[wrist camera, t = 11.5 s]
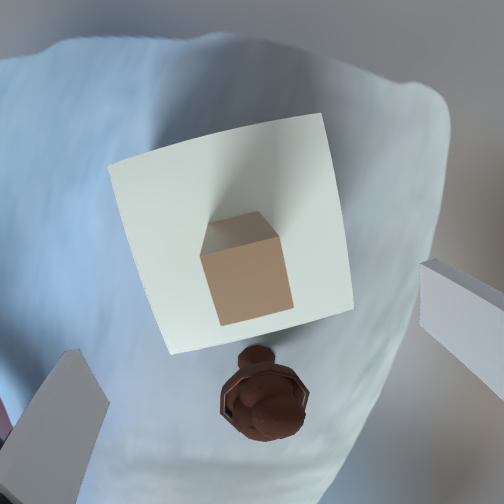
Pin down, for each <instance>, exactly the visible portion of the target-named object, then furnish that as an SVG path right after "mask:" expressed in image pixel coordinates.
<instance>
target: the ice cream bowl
mask: <svg viewBox="0 0 504 504" xmlns="http://www.w3.org/2000/svg"><path fill="white" fill-rule="evenodd" d="M274 360H275V355H274V354H273V353H272V351H271V350H270V349H269V348H266V347H263V346H260V345H256V346H252V347H248V348H246V349H245V350H244V351H243V352H242V353H241V354H240V355H239V356H238V366H239V368H240V369H239V370H238V371H237V372H236V373H235V374H234V375H233V376H232V377H231V378H230V379H229V380H228V381H227V382H226V383H225V384H224V386H223V387H222V391H221V399H220V414H221V415H222V416H223V417H224V418H225V419H226V420H227V421H228V422H229V423H231V424H232V425H233V426H234V427H235V428H236V429H237V430H238V431H239V432H241V433H243V434H244V435H245V436H246V437H247V438H249V439H252V440H257V441H263V442H267V441H272V440H276V439H283V438H286V437H289V436H291V435H294V434H295V433H296V432H297V431H299V429H300V428H301V426H302V425H303V423H304V419H305V416H306V413H305V408H306V405H307V401H308V397H309V393H310V392H309V391H308V389H307V388H306V387H305V385H304V384H303V383H302V381H301V380H300V379H299V377H298V376H297V375H296V373H295V372H294V371H293V369H291V368H289V367H286V366H283V365H279V364H275V363H274Z"/></svg>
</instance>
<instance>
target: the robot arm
mask: <svg viewBox="0 0 504 504" xmlns="http://www.w3.org/2000/svg"><path fill="white" fill-rule="evenodd" d="M420 326H421V327H423V328H424V329H425V330H426V331H427V332H428V333H429V334H431V335H432V336H433V337H434V338H435V339H436V340H438V341H439V342H440V343H441V344H442V345H443V346H444V347H445V348H447V349H448V350H449V351H450V352H451V353H452V354H453V355H455V356H456V357H457V358H458V359H459V360H460V361H461V362H462V363H463V364H465V365H466V366H467V367H468V368H469V369H470V370H471V371H472V372H473V373H474V374H475V375H477V376H478V377H479V378H480V379H481V380H482V381H483V382H484V383H485V384H486V385H487V386H488V387H489V388H490V389H492V390H493V391H494V392H495V393H496V394H497V395H498V396H499V397H500V398H501V399H502V400H503V401H504V293H501V292H499V291H498V290H496V289H494V288H492V287H491V286H489V285H487V284H485V283H483V282H481V281H479V280H477V279H475V278H473V277H471V276H470V275H468V274H466V273H464V272H462V271H460V270H458V269H455V268H454V267H452V266H450V265H448V264H446V263H444V262H442V261H440V260H438V259H435V258H434V259H431V260H428V261H425V262H422V263H420ZM109 404H110V402H109V401H108V399H107V397H106V396H105V394H104V393H103V391H102V389H101V387H100V386H99V384H98V382H97V381H96V379H95V377H94V375H93V374H92V372H91V370H90V368H89V366H88V364H87V363H86V361H85V359H84V357H83V355H82V353H81V351H80V349H77V350H71V351H65V352H64V353H63V354H62V356H61V357H60V359H59V360H58V361H57V363H56V364H55V366H54V367H53V369H52V370H51V371H50V373H49V374H48V376H47V377H46V379H45V380H44V382H43V383H42V384H41V386H40V387H39V389H38V390H37V392H36V393H35V395H34V396H33V398H32V400H31V401H30V403H29V404H28V406H27V407H26V409H25V410H24V412H23V414H22V415H21V417H20V418H19V420H18V422H17V423H16V425H15V426H14V428H13V429H12V430H11V431H10V433H9V434H8V436H7V438H6V439H5V441H4V440H3V439H2V438H1V437H0V504H76V501H77V497H78V494H79V491H80V487H81V484H82V481H83V478H84V475H85V472H86V469H87V466H88V463H89V460H90V457H91V454H92V451H93V448H94V445H95V442H96V439H97V437H98V434H99V431H100V428H101V426H102V423H103V420H104V418H105V415H106V412H107V410H108V407H109Z"/></svg>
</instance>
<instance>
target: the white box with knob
mask: <svg viewBox="0 0 504 504" xmlns="http://www.w3.org/2000/svg"><path fill="white" fill-rule="evenodd" d="M108 170H109V174H110V178H111V182H112V186H113V190H114V193H115V197H116V201H117V204H118V208H119V212H120V215H121V219H122V222H123V225H124V229H125V232H126V235H127V239H128V242H129V245H130V248H131V251H132V254H133V257H134V260H135V263H136V266H137V269H138V272H139V275H140V278H141V281H142V284H143V286H144V289H145V292H146V295H147V297H148V300H149V303H150V305H151V308H152V311H153V313H154V316H155V318H156V321H157V323H158V326H159V328H160V331H161V333H162V336H163V338H164V341H165V343H166V345H167V348H168V350H169V353H170V355H172V354H177V353H182V352H187V351H192V350H197V349H202V348H207V347H212V346H216V345H221V344H225V343H230V342H234V341H238V340H242V339H247V338H251V337H255V336H259V335H263V334H267V333H271V332H275V331H279V330H282V329H286V328H290V327H294V326H297V325H301V324H304V323H308V322H311V321H315V320H318V319H322V318H325V317H329V316H332V315H335V314H339V313H342V312H345V311H348V310H352V309H354V302H353V293H352V284H351V275H350V267H349V259H348V252H347V244H346V237H345V231H344V224H343V218H342V212H341V206H340V200H339V195H338V189H337V184H336V178H335V173H334V168H333V163H332V158H331V154H330V149H329V144H328V140H327V135H326V131H325V127H324V122H323V118H322V114H321V113H315V114H308V115H302V116H296V117H290V118H284V119H279V120H273V121H268V122H263V123H258V124H253V125H248V126H243V127H239V128H234V129H230V130H226V131H222V132H217V133H213V134H209V135H205V136H202V137H198V138H194V139H190V140H187V141H183V142H179V143H176V144H172V145H169V146H166V147H162V148H159V149H156V150H152V151H149V152H146V153H143V154H140V155H137V156H134V157H131V158H128V159H125V160H122V161H119V162H116V163H114V164H111V165H108Z"/></svg>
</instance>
